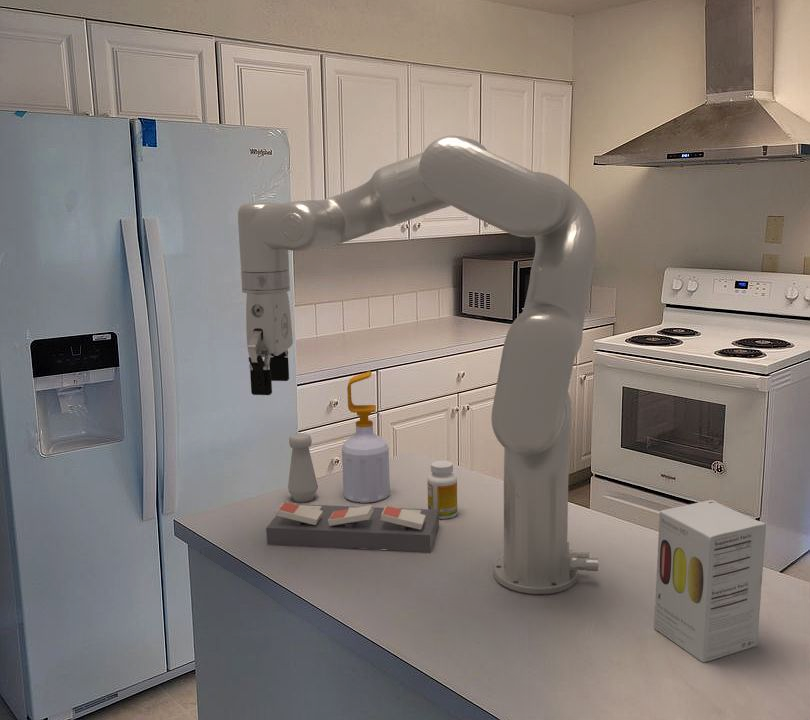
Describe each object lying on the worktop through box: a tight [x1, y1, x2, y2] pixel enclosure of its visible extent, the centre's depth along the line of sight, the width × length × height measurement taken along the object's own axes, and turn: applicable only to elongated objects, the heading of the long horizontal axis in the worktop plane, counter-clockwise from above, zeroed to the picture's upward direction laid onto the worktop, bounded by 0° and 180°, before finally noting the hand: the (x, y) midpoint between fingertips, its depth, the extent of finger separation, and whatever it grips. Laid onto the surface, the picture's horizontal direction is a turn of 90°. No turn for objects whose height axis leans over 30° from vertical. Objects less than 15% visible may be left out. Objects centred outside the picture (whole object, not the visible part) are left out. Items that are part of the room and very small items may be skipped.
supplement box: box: [653, 499, 767, 663], centre depth 104 cm, size 10×9×17 cm
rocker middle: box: [328, 504, 374, 526], centre depth 138 cm, size 7×4×1 cm, turn 80°
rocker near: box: [380, 505, 426, 530], centre depth 136 cm, size 7×4×1 cm, turn 81°
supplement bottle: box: [427, 460, 458, 520], centre depth 148 cm, size 5×5×10 cm
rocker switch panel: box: [265, 503, 440, 553], centre depth 140 cm, size 28×11×4 cm, turn 80°
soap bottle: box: [341, 370, 391, 504], centre depth 157 cm, size 9×9×25 cm
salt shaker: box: [287, 432, 319, 503], centre depth 157 cm, size 6×6×13 cm
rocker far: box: [275, 501, 323, 525], centre depth 139 cm, size 7×4×1 cm, turn 81°
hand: (271, 387), depth 132 cm, fingers open, 9 cm apart
